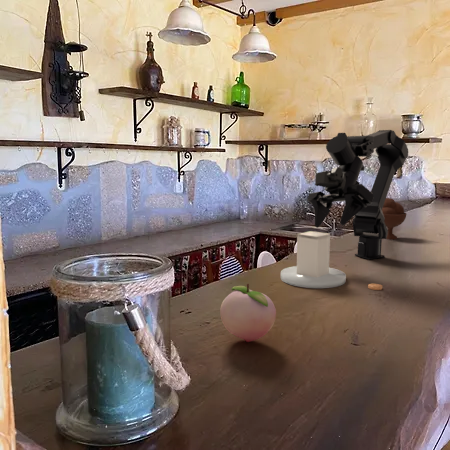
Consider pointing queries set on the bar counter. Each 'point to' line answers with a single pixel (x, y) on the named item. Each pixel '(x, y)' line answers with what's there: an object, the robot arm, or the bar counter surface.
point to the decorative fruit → (247, 313)
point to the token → (375, 286)
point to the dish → (313, 278)
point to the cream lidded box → (313, 253)
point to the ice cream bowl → (392, 216)
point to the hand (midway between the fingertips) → (328, 225)
